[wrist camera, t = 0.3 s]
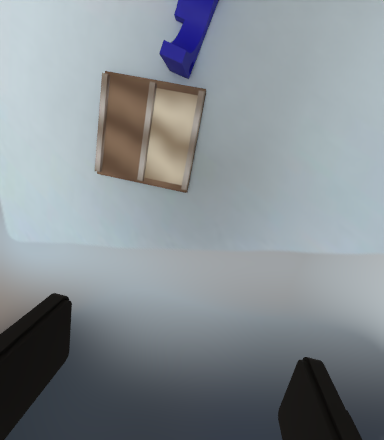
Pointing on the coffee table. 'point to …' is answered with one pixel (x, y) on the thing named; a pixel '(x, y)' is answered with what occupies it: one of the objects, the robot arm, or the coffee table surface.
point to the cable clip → (188, 35)
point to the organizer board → (148, 130)
